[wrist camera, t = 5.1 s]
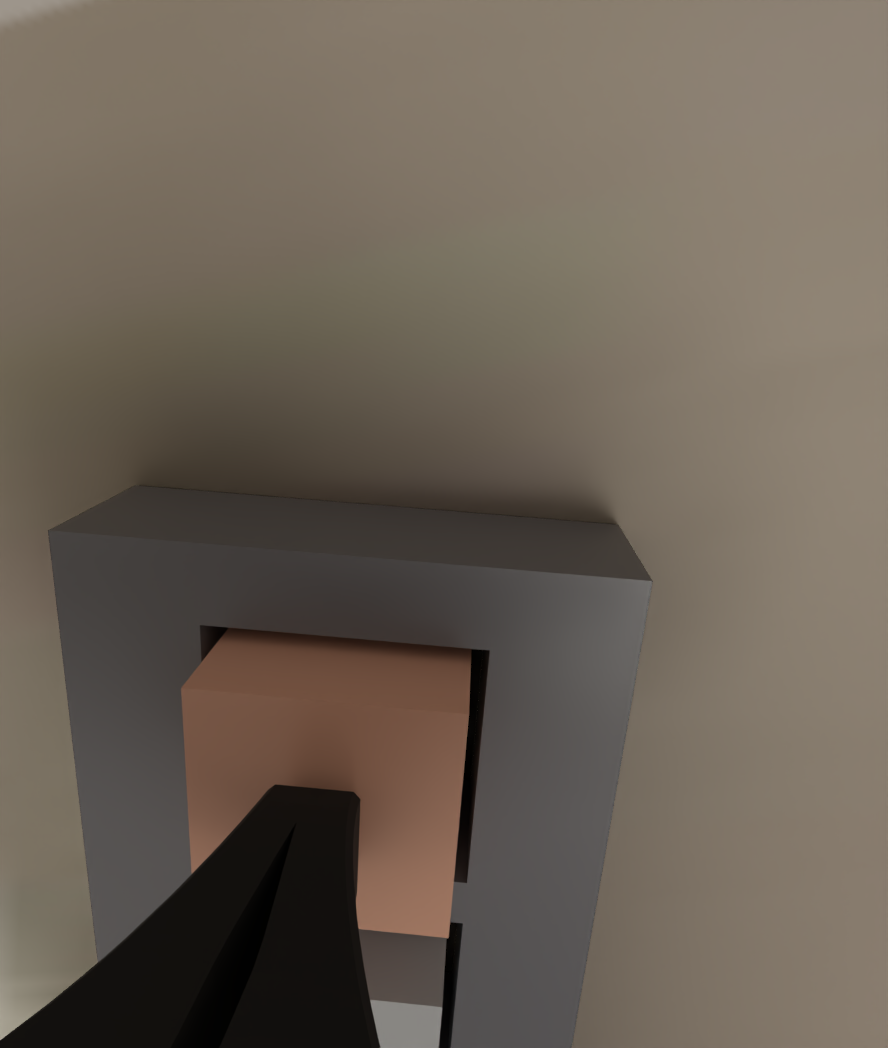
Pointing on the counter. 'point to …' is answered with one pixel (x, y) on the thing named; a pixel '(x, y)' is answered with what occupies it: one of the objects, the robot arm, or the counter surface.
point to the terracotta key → (338, 754)
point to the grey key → (405, 986)
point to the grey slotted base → (383, 615)
